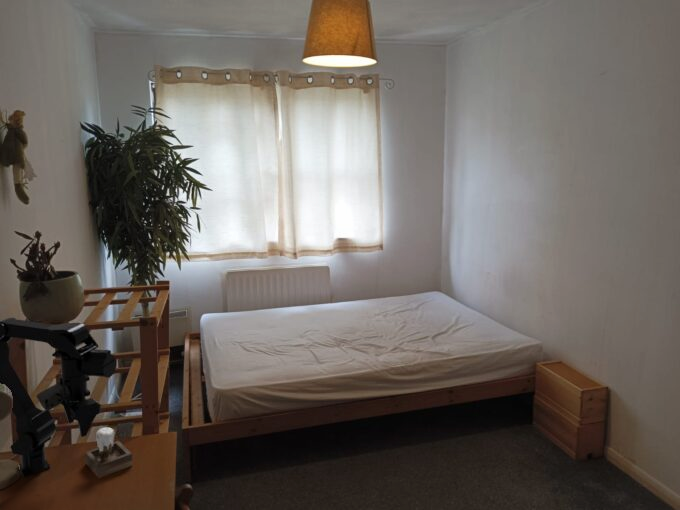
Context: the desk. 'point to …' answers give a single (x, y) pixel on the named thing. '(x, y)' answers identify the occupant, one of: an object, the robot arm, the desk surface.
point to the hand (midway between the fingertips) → (77, 429)
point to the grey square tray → (119, 461)
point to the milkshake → (105, 443)
